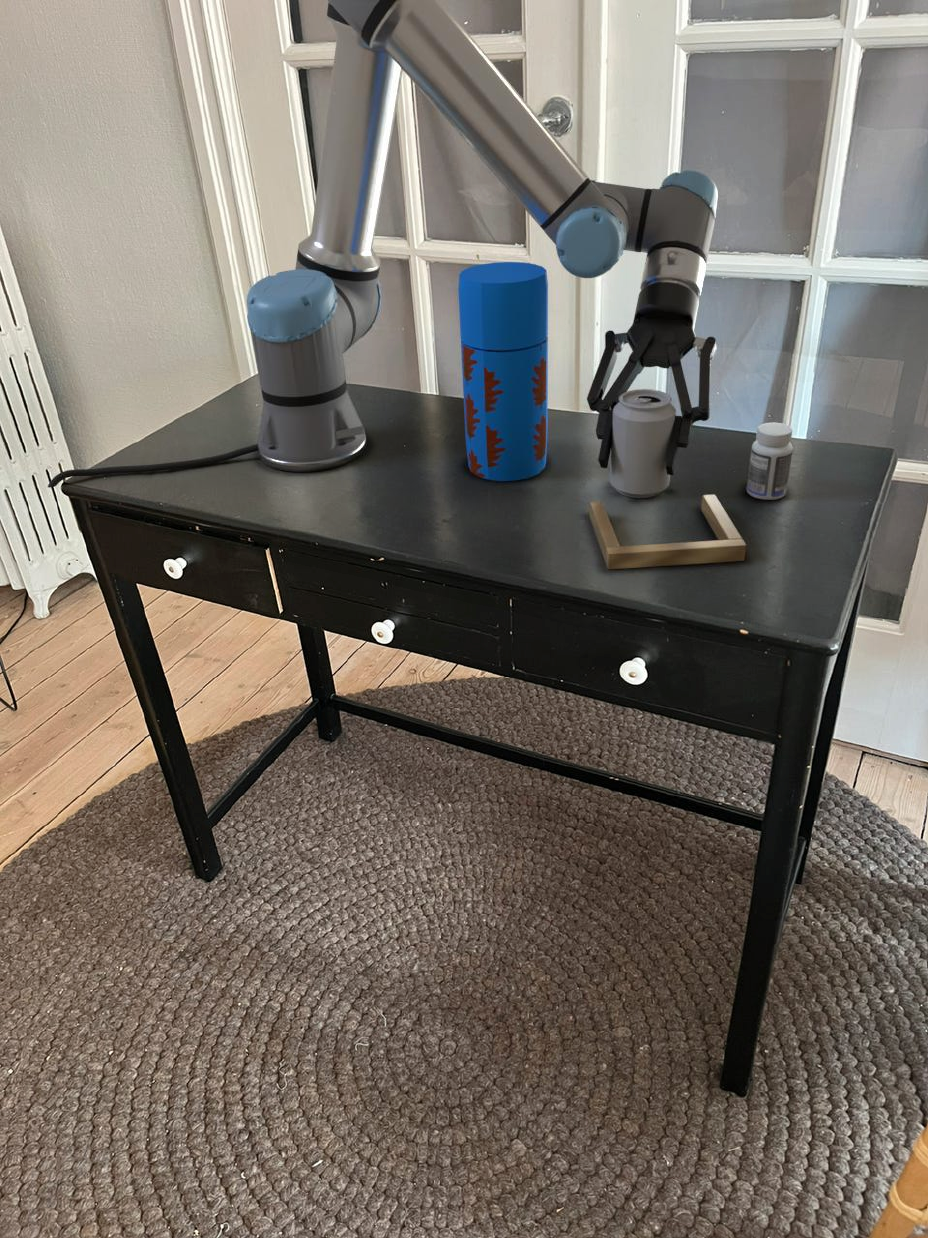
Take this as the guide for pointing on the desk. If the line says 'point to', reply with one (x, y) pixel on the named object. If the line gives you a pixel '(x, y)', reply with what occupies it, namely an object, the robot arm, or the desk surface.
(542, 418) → the thermos
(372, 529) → the desk surface
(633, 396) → the can
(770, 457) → the pill bottle
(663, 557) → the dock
